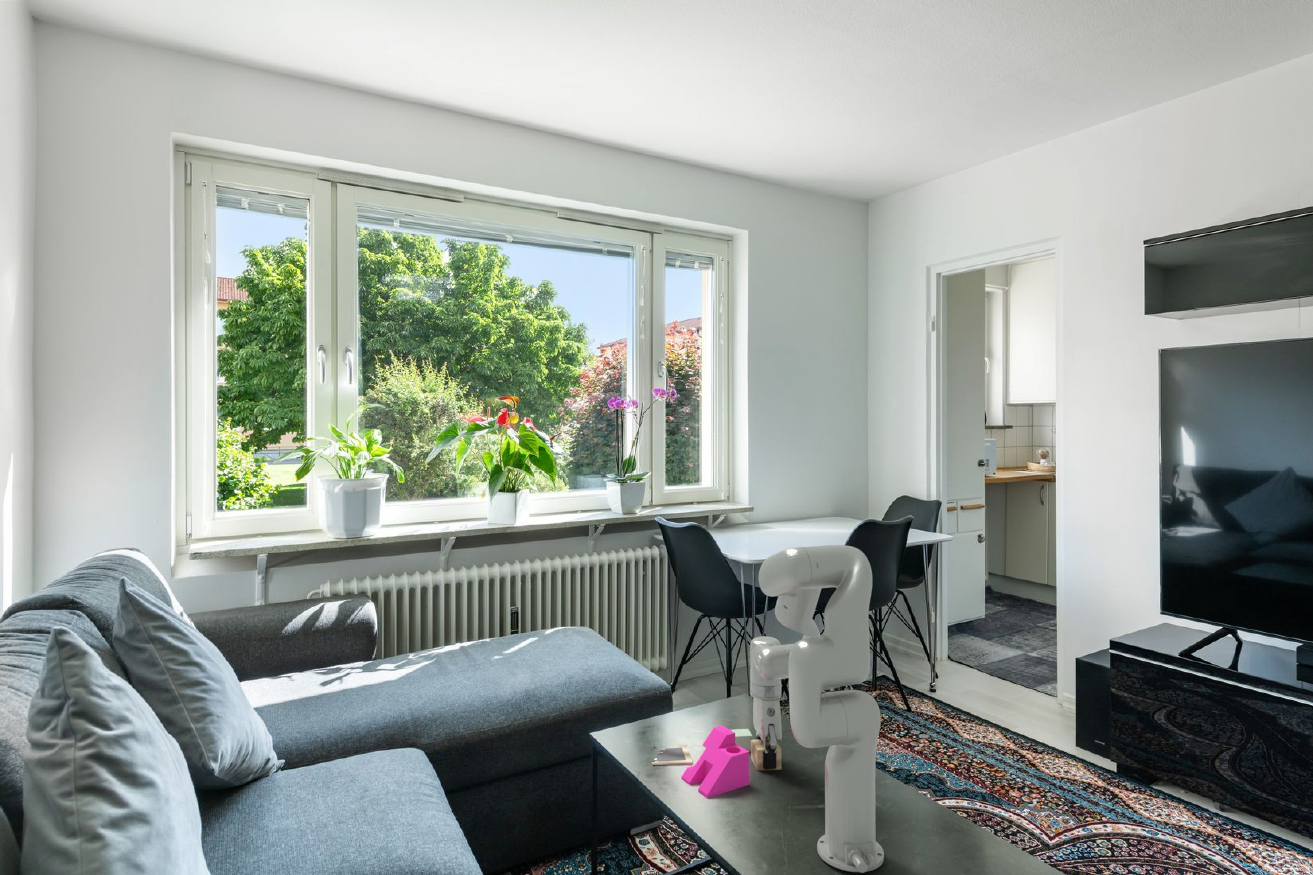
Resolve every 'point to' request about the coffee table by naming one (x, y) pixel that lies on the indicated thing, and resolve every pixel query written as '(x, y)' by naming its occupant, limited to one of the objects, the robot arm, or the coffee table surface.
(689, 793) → the coffee table surface
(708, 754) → the bracket
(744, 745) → the sage cube
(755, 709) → the robot arm
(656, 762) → the birch board
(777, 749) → the oak block
